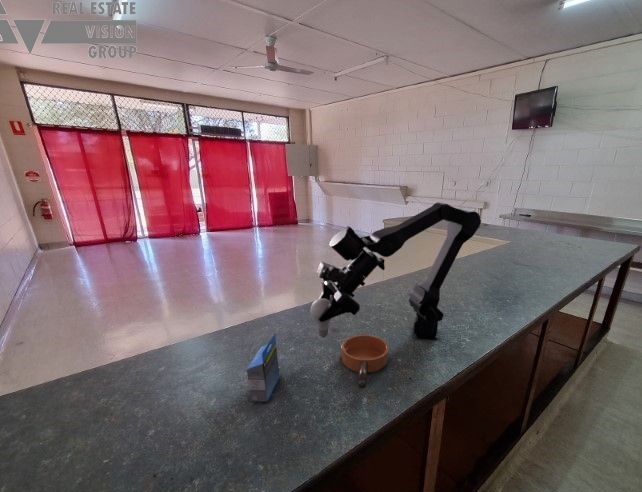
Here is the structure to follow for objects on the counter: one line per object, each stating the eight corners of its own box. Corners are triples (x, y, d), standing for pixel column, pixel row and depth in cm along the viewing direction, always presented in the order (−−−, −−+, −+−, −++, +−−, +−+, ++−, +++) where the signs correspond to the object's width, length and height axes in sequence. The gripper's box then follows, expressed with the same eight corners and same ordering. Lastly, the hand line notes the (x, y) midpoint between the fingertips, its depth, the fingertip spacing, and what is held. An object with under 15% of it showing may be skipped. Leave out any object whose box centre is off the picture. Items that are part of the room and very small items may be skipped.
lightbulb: (338, 333, 87) (337, 296, 83) (328, 344, 81) (327, 305, 77) (318, 329, 89) (317, 293, 85) (307, 340, 83) (305, 302, 79)
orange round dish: (387, 348, 89) (388, 335, 88) (388, 374, 78) (389, 361, 76) (344, 346, 89) (344, 333, 88) (339, 372, 78) (339, 359, 77)
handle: (367, 366, 77) (367, 359, 77) (366, 390, 69) (366, 383, 68) (360, 365, 77) (360, 359, 77) (357, 390, 69) (358, 383, 68)
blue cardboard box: (264, 375, 76) (259, 330, 72) (280, 376, 76) (276, 331, 72) (250, 401, 68) (243, 352, 63) (268, 402, 68) (262, 353, 63)
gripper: (327, 243, 86) (289, 285, 86) (346, 262, 70) (299, 314, 70) (354, 267, 91) (318, 307, 92) (378, 290, 75) (334, 339, 75)
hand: (317, 315), depth 82 cm, fingers closed on lightbulb, 6 cm apart
